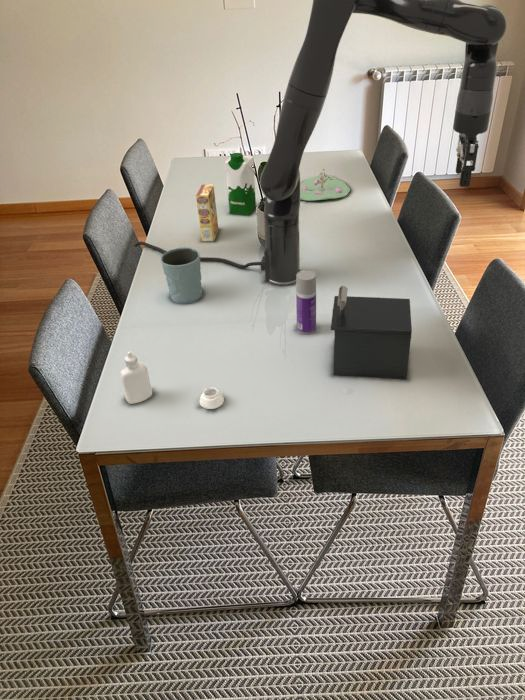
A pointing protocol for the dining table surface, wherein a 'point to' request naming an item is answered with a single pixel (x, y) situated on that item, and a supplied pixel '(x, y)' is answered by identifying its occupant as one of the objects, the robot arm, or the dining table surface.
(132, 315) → the dining table surface
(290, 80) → the robot arm
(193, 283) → the grey-green cup
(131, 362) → the eye dropper bottle
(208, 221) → the candy box
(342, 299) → the bin lid
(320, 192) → the plant
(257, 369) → the dining table surface
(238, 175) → the milk carton
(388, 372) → the bin
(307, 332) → the container
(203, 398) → the lidless jar
